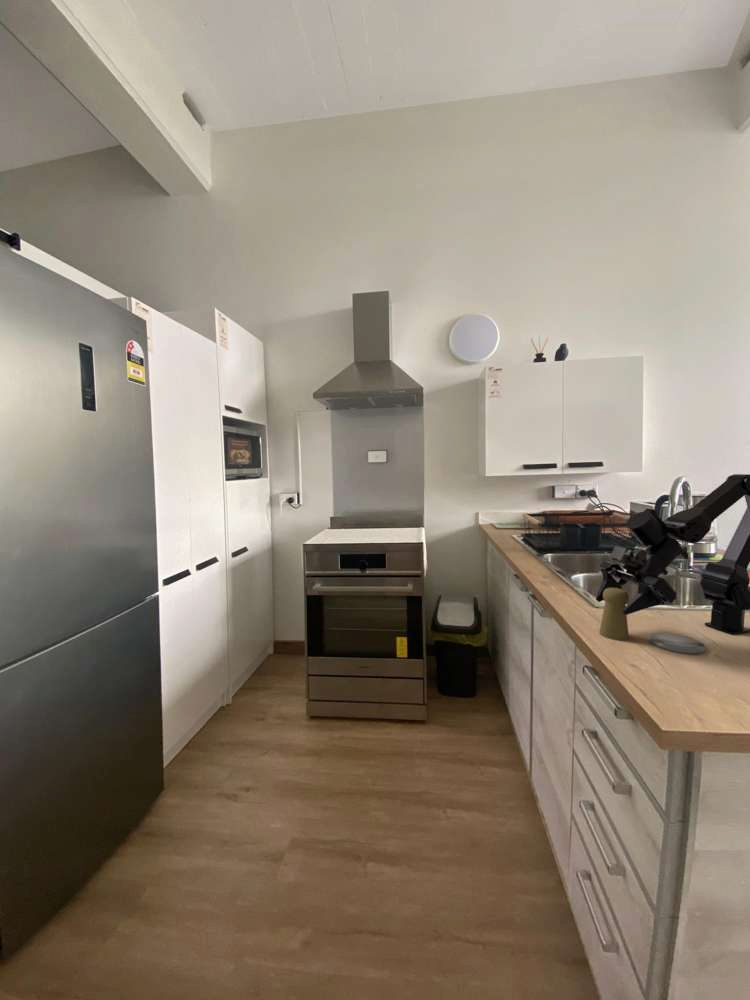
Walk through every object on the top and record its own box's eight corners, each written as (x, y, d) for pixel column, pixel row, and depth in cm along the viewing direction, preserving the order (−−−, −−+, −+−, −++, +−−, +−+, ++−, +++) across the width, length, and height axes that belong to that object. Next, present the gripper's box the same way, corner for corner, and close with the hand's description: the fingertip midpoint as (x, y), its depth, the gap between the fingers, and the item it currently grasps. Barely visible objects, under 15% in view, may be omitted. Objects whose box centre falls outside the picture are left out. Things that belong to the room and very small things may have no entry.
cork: (633, 641, 96) (635, 593, 95) (603, 639, 97) (606, 591, 96) (623, 631, 102) (625, 586, 101) (595, 629, 103) (597, 584, 102)
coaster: (672, 633, 100) (672, 630, 100) (716, 651, 91) (716, 647, 91) (638, 638, 98) (638, 634, 98) (680, 656, 88) (680, 652, 88)
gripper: (607, 529, 107) (565, 573, 107) (667, 541, 89) (616, 595, 88) (634, 559, 109) (592, 603, 108) (698, 577, 91) (649, 630, 90)
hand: (610, 606), depth 99 cm, fingers open, 9 cm apart
